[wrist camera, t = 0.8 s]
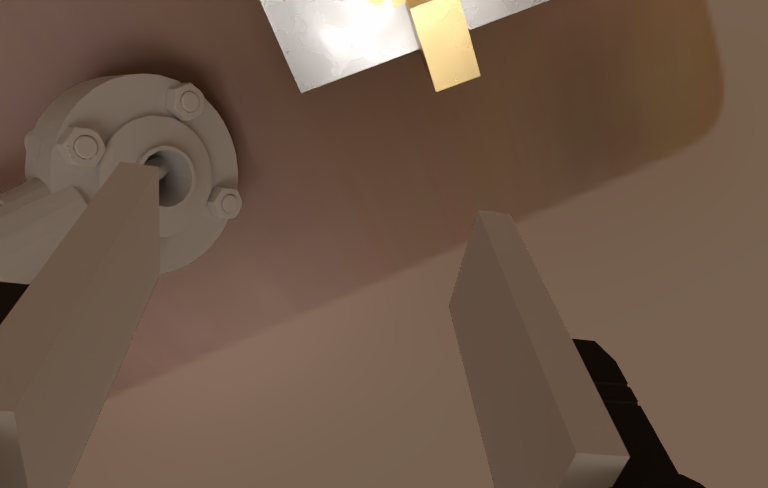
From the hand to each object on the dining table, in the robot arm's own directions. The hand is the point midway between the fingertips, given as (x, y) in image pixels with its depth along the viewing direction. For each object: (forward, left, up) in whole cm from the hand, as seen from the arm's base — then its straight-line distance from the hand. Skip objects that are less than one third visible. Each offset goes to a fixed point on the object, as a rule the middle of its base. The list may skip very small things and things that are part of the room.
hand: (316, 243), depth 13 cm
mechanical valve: (-18, -3, -23) cm, 30 cm away
